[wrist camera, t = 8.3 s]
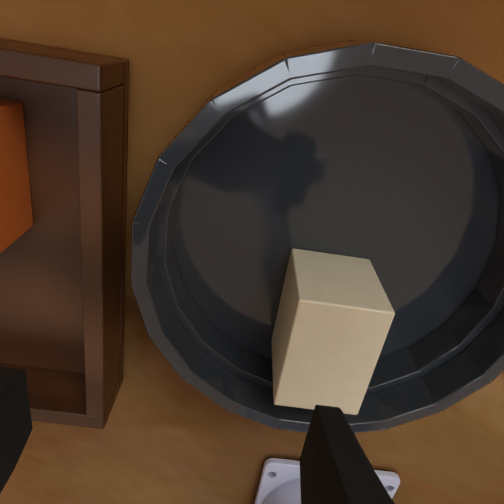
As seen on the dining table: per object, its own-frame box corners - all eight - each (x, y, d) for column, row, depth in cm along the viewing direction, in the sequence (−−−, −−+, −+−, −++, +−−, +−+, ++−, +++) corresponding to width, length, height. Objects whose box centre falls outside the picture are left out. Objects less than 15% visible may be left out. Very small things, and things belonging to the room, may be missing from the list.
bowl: (439, 389, 22) (471, 453, 19) (147, 351, 22) (126, 410, 18) (586, 80, 16) (676, 94, 12) (165, 8, 15) (137, 0, 11)
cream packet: (340, 349, 21) (357, 416, 17) (271, 340, 20) (273, 405, 17) (369, 258, 18) (396, 313, 15) (291, 247, 18) (298, 299, 15)
